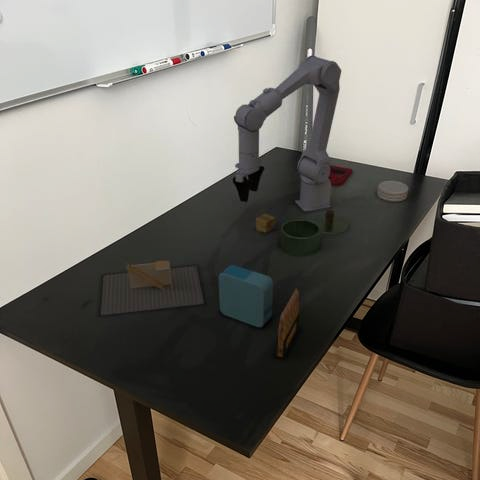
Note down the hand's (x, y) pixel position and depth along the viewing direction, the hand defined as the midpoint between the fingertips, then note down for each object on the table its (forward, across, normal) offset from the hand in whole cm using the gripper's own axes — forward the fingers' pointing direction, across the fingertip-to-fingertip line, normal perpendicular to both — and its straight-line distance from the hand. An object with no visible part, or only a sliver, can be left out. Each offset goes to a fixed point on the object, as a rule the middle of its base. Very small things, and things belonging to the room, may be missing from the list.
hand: (248, 195), depth 150 cm
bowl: (+10, +6, +18) cm, 22 cm away
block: (+10, +1, +6) cm, 11 cm away
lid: (+9, -8, +23) cm, 26 cm away
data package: (+10, +42, +17) cm, 47 cm away
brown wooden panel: (+10, +48, +29) cm, 57 cm away
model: (+10, +41, -10) cm, 44 cm away
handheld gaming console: (+10, -45, +15) cm, 49 cm away
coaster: (+10, -37, +37) cm, 54 cm away
